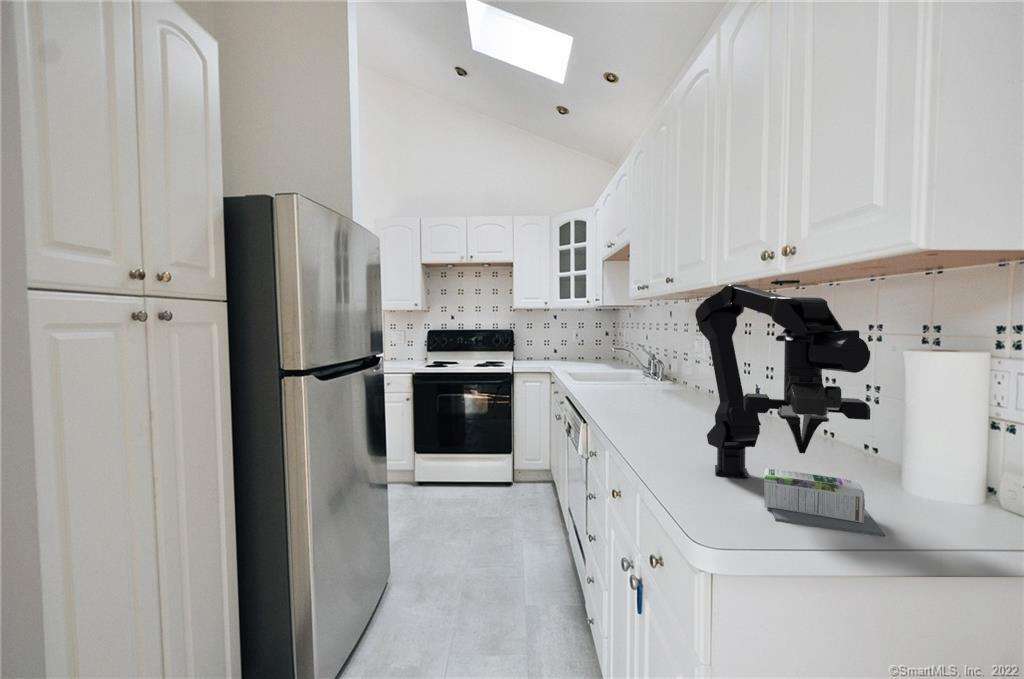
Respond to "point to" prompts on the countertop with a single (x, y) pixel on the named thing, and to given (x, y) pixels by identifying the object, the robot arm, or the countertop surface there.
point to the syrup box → (814, 494)
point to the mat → (829, 522)
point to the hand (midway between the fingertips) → (801, 452)
